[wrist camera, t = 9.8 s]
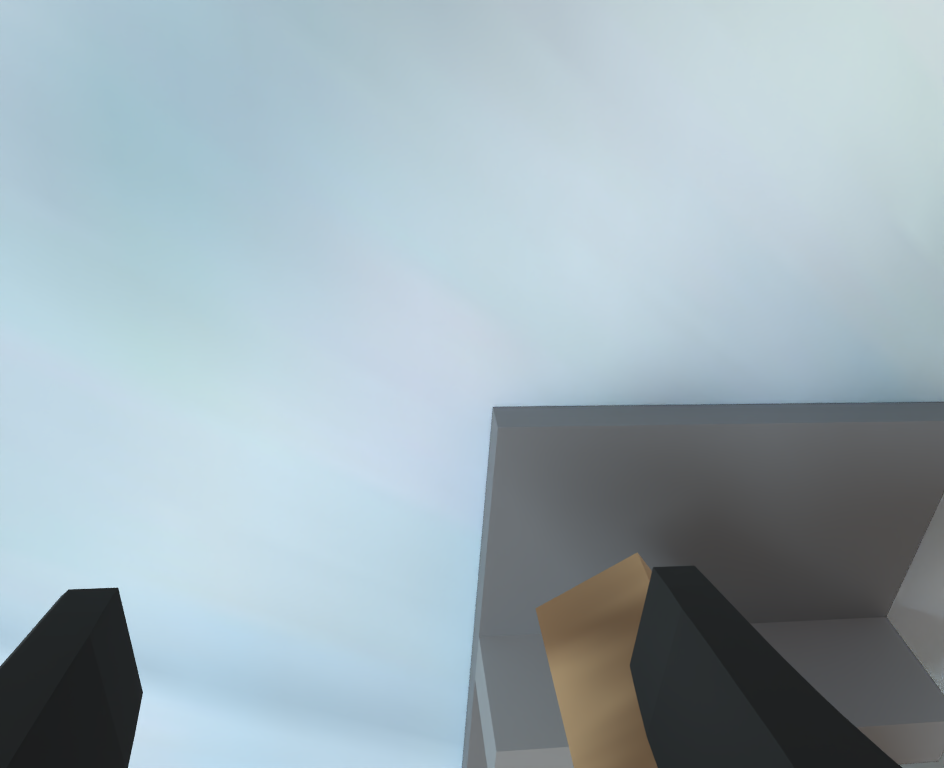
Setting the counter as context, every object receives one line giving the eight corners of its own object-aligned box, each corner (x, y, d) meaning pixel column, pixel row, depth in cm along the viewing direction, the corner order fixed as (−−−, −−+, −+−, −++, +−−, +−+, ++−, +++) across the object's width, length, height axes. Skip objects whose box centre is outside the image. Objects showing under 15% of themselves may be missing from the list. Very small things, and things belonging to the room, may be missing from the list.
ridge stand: (955, 402, 23) (1085, 510, 19) (793, 768, 32) (858, 897, 28) (492, 407, 22) (523, 527, 17) (459, 793, 31) (474, 934, 26)
